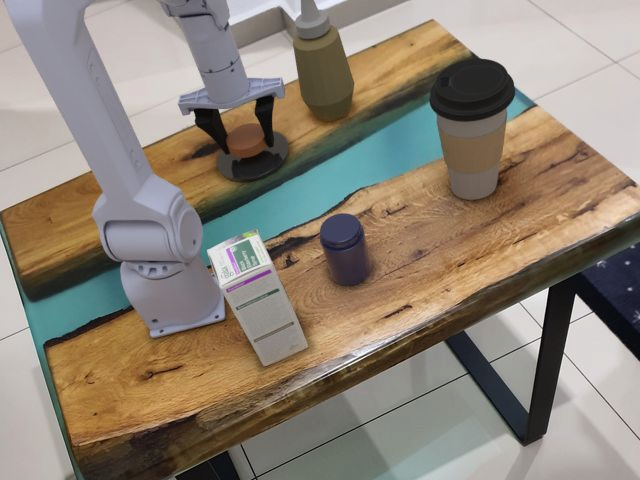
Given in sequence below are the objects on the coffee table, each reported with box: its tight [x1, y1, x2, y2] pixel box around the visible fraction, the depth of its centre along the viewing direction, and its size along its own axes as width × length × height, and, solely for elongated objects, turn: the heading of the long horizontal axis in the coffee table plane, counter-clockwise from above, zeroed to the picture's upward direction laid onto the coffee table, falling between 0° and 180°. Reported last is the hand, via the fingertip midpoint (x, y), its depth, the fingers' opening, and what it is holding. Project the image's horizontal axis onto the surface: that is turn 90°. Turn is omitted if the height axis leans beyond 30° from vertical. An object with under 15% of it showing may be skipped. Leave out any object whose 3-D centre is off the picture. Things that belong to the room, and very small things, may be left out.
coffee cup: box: [428, 58, 516, 201], centre depth 77 cm, size 9×9×15 cm
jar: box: [319, 212, 373, 287], centre depth 76 cm, size 5×5×7 cm
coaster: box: [216, 130, 291, 183], centre depth 96 cm, size 11×11×1 cm
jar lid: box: [226, 122, 267, 158], centre depth 93 cm, size 6×6×2 cm
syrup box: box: [206, 228, 309, 367], centre depth 69 cm, size 6×6×14 cm
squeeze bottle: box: [292, 0, 355, 122], centre depth 91 cm, size 8×8×18 cm
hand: (249, 146), depth 94 cm, fingers closed on jar lid, 6 cm apart
